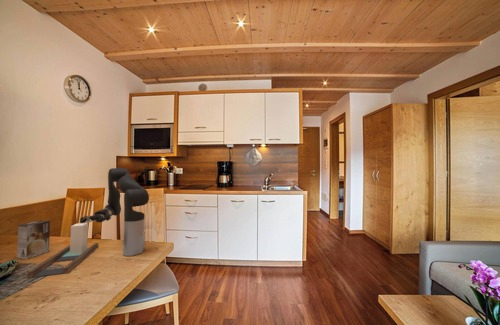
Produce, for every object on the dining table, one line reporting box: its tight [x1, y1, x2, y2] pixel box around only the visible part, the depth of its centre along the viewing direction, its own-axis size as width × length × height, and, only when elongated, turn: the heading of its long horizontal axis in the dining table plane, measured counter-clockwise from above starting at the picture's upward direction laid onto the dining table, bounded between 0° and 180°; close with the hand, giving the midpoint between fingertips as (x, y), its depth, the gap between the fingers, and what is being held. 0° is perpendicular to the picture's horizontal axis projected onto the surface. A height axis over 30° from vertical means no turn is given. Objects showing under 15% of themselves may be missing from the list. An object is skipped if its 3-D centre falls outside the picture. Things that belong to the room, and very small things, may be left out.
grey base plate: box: [33, 256, 78, 278], centre depth 86 cm, size 10×17×1 cm, turn 17°
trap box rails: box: [26, 242, 99, 279], centre depth 91 cm, size 13×27×2 cm, turn 17°
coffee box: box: [16, 219, 51, 260], centre depth 96 cm, size 9×6×16 cm
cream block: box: [69, 222, 89, 254], centre depth 99 cm, size 5×5×14 cm
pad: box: [62, 246, 90, 257], centre depth 99 cm, size 10×10×1 cm
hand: (90, 221), depth 110 cm, fingers open, 8 cm apart
